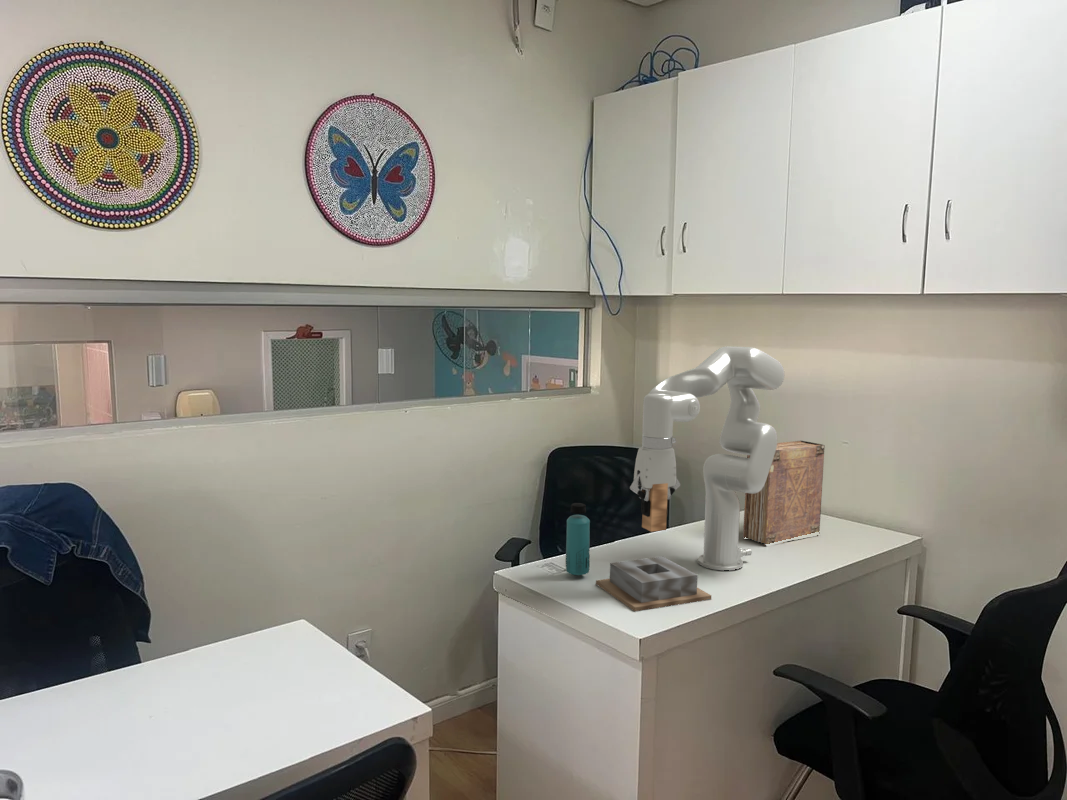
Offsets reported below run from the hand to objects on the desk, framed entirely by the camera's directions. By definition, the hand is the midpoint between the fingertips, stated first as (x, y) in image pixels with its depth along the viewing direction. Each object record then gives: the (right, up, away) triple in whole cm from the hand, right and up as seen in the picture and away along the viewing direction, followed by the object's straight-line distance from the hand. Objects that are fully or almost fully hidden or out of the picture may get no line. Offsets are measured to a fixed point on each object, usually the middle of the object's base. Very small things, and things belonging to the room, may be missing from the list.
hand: (654, 513), depth 197 cm
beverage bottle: (-19, -19, +13) cm, 30 cm away
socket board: (0, -20, +2) cm, 20 cm away
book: (+49, -16, +53) cm, 74 cm away
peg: (0, -4, 0) cm, 4 cm away
